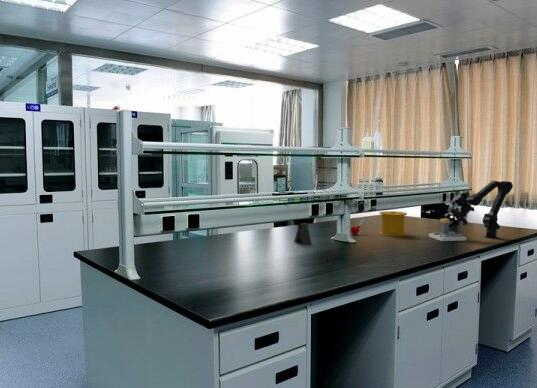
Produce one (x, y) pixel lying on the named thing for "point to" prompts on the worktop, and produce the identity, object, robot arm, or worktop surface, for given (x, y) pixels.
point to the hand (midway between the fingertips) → (446, 228)
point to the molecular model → (356, 229)
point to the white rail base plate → (448, 236)
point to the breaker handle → (444, 226)
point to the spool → (392, 223)
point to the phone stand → (303, 234)
